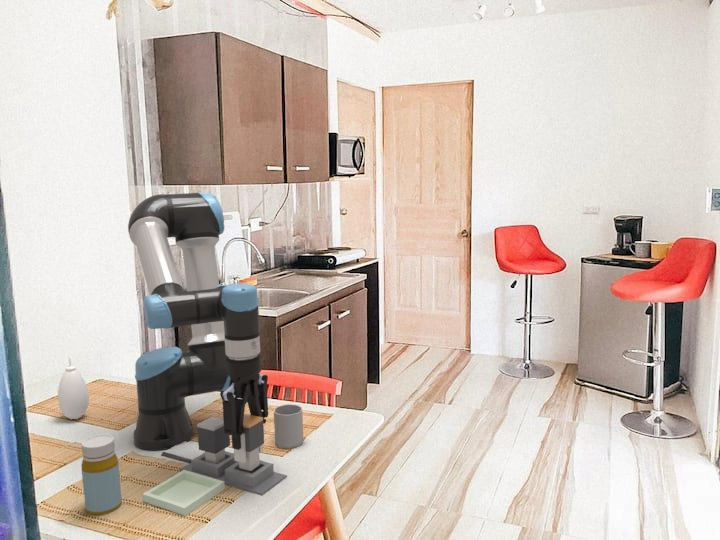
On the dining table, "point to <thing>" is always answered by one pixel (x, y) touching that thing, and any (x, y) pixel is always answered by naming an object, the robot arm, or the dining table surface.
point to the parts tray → (183, 492)
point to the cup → (288, 426)
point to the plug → (252, 440)
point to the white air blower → (73, 393)
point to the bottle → (100, 475)
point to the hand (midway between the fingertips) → (248, 455)
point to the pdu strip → (227, 461)
